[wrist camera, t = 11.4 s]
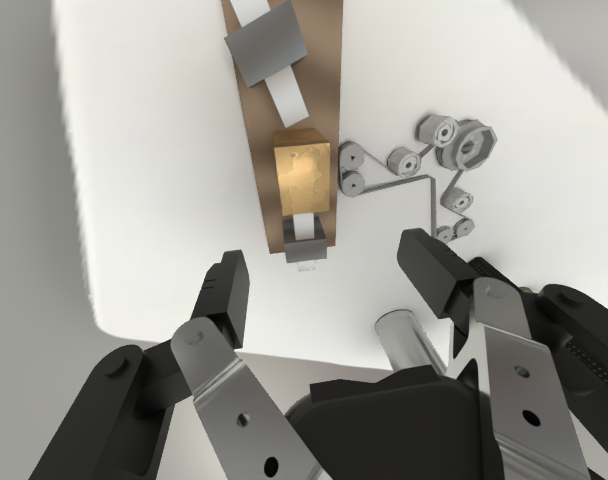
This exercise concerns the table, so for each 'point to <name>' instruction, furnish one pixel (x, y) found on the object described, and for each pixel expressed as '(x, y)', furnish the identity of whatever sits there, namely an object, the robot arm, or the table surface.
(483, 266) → the portable radio
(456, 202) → the pulley system
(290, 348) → the table surface
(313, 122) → the shaft mount
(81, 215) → the table surface
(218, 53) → the table surface
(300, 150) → the tan rectangular block
